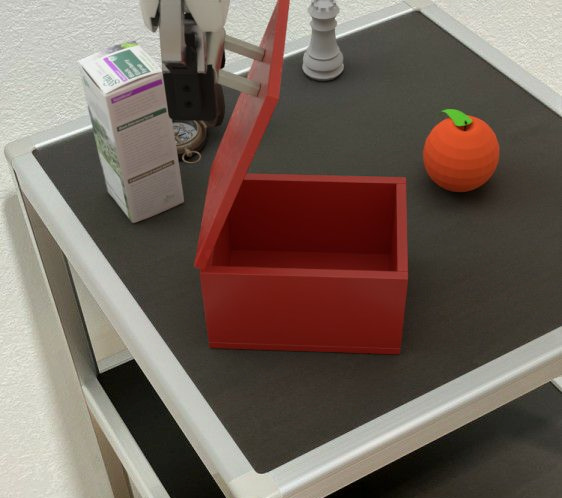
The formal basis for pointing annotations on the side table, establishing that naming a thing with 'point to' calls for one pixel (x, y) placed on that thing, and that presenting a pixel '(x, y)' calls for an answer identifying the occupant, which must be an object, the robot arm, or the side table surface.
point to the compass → (197, 129)
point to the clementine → (460, 152)
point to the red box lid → (241, 119)
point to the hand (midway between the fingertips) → (198, 89)
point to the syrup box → (132, 129)
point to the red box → (310, 266)
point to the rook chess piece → (323, 42)
